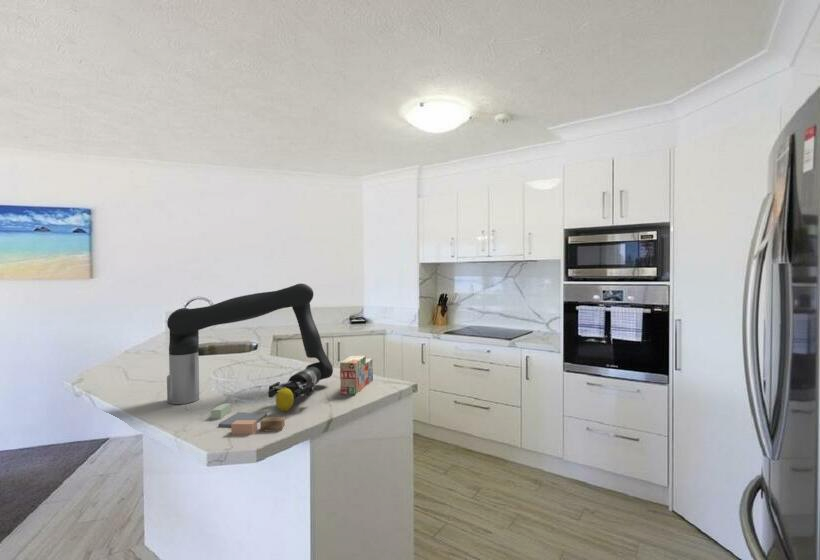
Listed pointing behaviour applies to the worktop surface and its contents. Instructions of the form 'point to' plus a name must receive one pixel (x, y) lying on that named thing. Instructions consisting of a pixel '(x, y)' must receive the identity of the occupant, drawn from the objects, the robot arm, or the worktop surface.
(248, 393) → the worktop surface
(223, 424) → the coaster
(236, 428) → the brick terracotta
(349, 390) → the stack of blocks
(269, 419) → the brick walnut
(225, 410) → the brick sage
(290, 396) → the lemon
